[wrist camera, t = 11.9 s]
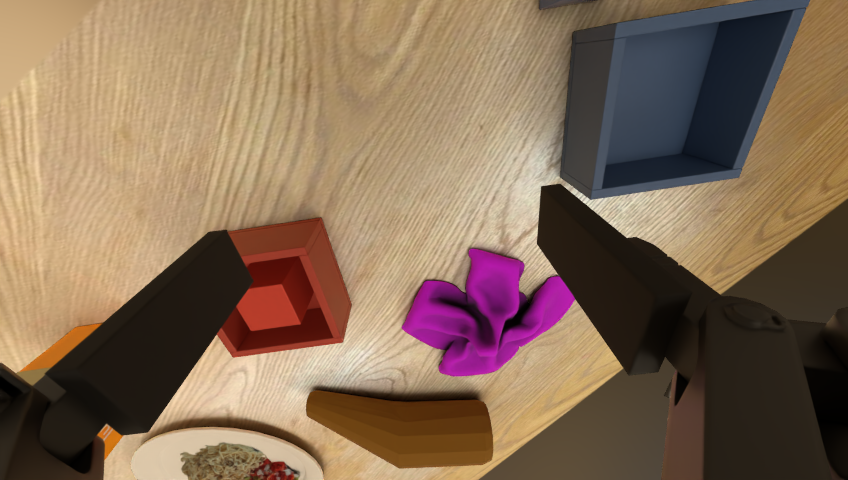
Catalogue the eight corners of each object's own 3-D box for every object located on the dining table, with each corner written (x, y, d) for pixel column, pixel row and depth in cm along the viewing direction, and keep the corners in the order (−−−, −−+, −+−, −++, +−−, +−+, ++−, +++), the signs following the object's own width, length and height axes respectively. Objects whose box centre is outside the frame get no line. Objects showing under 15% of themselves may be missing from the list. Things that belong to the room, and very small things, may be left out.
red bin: (207, 234, 30) (169, 266, 25) (321, 217, 30) (304, 246, 25) (256, 318, 36) (232, 358, 31) (352, 304, 36) (343, 342, 31)
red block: (251, 260, 31) (226, 292, 27) (299, 253, 31) (281, 284, 27) (270, 297, 34) (250, 331, 29) (314, 291, 34) (301, 324, 29)
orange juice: (74, 326, 35) (-248, 578, 18) (146, 315, 35) (-110, 561, 18) (118, 369, 39) (-111, 610, 22) (183, 359, 39) (4, 596, 22)
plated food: (98, 426, 45) (76, 451, 42) (299, 407, 45) (291, 431, 42) (191, 509, 60) (180, 531, 57) (342, 495, 60) (338, 517, 57)
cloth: (461, 385, 44) (468, 429, 39) (371, 315, 37) (365, 358, 31) (604, 308, 38) (636, 348, 32) (532, 205, 30) (559, 235, 25)
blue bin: (572, 31, 23) (616, 22, 18) (727, 6, 23) (814, -10, 18) (559, 177, 29) (590, 200, 24) (682, 158, 28) (739, 178, 24)
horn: (318, 378, 46) (481, 374, 47) (319, 444, 46) (480, 438, 47) (299, 409, 38) (496, 403, 39) (300, 488, 38) (495, 479, 40)
